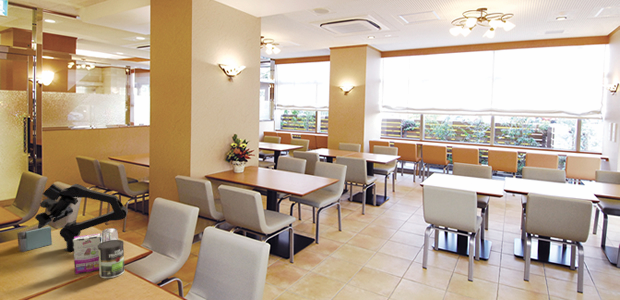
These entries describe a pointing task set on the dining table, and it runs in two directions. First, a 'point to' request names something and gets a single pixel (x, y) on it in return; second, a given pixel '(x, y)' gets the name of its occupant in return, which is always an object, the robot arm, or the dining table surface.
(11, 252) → the dining table surface
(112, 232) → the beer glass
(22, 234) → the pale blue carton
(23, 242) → the hinge leaf
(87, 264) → the candy bar box
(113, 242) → the coffee can
